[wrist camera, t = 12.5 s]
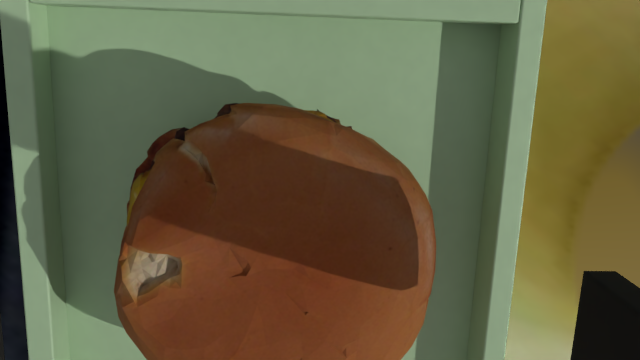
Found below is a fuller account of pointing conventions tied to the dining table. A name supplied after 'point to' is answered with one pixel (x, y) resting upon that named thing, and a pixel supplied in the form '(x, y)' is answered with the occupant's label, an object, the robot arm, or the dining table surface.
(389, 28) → the serving tray
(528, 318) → the dining table surface
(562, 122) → the dining table surface
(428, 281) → the burger
